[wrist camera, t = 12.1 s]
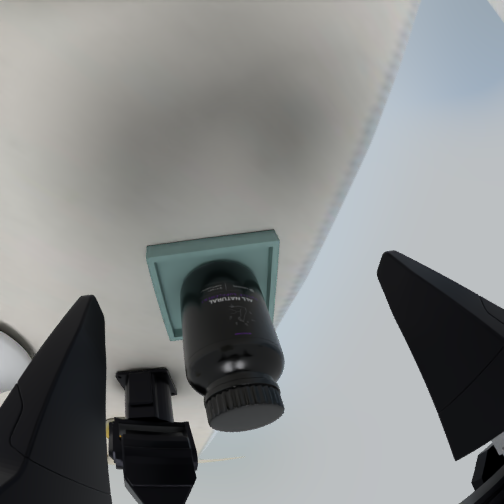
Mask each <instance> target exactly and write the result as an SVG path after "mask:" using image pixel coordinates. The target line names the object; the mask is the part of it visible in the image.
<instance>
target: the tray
mask: <svg viewBox="0 0 504 504" xmlns="http://www.w3.org/2000/svg"><path fill="white" fill-rule="evenodd" d="M279 243H280V240H279V238H278V236H277V234H276V233H275V231H274V230H268V231H260V232H251V233H243V234H235V235H227V236H220V237H212V238H204V239H197V240H189V241H182V242H174V243H167V244H160V245H152V246H147V252H146V260H147V264H148V268H149V272H150V276H151V279H152V283H153V286H154V290H155V294H156V297H157V300H158V304H159V307H160V310H161V314H162V317H163V320H164V323H165V327H166V330H167V333H168V336H169V339H170V341H176V340H183V337H182V324H181V309H180V291H181V287H182V284H183V282H184V281H185V279H186V278H187V277H188V276H189V275H190V274H191V273H192V272H193V271H194V270H196V269H197V268H199V267H201V266H203V265H206V264H209V263H213V262H221V261H225V262H233V263H237V264H240V265H242V266H244V267H246V268H247V269H249V270H250V271H251V272H252V273H253V274H254V275H255V277H256V279H257V281H258V283H259V286H260V288H261V291H262V294H263V297H264V300H265V303H266V306H267V309H268V311H269V314H270V317H271V320H272V323H273V316H274V305H275V293H276V282H277V269H278V257H279Z"/></svg>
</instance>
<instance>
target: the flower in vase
mask: <svg viewBox="0 0 504 504" xmlns="http://www.w3.org/2000/svg"><path fill="white" fill-rule="evenodd" d="M31 361H32V359H31V357H30V356H29V354H28V353H27V352H26V351H25V350H24V348H23V347H22V346H21V345H19V344H18V343H17V342H16V341H15V340H13V339H12V338H11V337H9V336H8V335H6V334H5V333H3V332H1V331H0V393H2V392H6V391H10V390H12V389H13V387H14V386H15V384H16V383H18V380H19V378H20V377H21V375H22V374H23V372H24V371H25V369H26V368H27V366H28V365H29V363H30V362H31Z"/></svg>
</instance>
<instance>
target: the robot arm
mask: <svg viewBox="0 0 504 504" xmlns="http://www.w3.org/2000/svg"><path fill="white" fill-rule="evenodd" d="M377 277H378V280H379V282H380V284H381V287H382V289H383V292H384V294H385V296H386V299H387V301H388V304H389V306H390V309H391V311H392V314H393V316H394V318H395V320H396V322H397V324H398V326H399V328H400V330H401V332H402V334H403V336H404V337H405V340H406V342H407V344H408V346H409V348H410V350H411V353H412V355H413V357H414V359H415V361H416V363H417V366H418V368H419V370H420V372H421V374H422V377H423V379H424V381H425V383H426V386H427V388H428V391H429V393H430V395H431V397H432V400H433V403H434V405H435V408H436V410H437V412H438V415H439V418H440V421H441V423H442V426H443V428H444V431H445V434H446V437H447V439H448V442H449V445H450V448H451V451H452V454H453V457H454V459H455V461H457V460H459V459H461V458H462V457H464V456H466V455H468V454H470V453H471V452H473V451H475V450H476V449H478V448H480V447H481V446H483V445H485V444H486V443H488V442H489V441H492V444H491V445H489V446H488V447H487V448H486V449H485V450H484V451H483V452H481V453H480V454H479V455H478V458H477V462H476V467H475V471H474V475H473V479H472V482H471V483H472V485H473V487H474V490H475V491H474V492H473V493H472V494H471V495H470V496H468V497H467V498H466V499H465V500H464V501H462V502H461V503H459V504H504V309H502V308H500V307H499V306H497V305H495V304H493V303H492V302H490V301H488V300H486V299H485V298H483V297H481V296H479V295H478V294H475V293H474V292H472V291H471V290H469V289H467V288H465V287H463V286H462V285H459V284H458V283H456V282H454V281H453V280H451V279H449V278H447V277H445V276H443V275H442V274H440V273H438V272H436V271H434V270H432V269H430V268H428V267H426V266H424V265H422V264H421V263H419V262H417V261H415V260H413V259H411V258H409V257H407V256H405V255H403V254H401V253H399V252H397V251H394V250H393V251H387V252H384V253H383V255H382V258H381V261H380V264H379V267H378V270H377ZM116 378H117V380H118V381H119V383H120V384H121V385H122V387H123V388H124V390H125V418H126V419H119V418H116V417H114V421H112V422H109V456H110V457H111V458H112V459H113V460H114V463H116V469H123V473H124V482H125V487H126V488H127V490H128V491H129V492H130V494H131V495H132V496H133V497H134V499H135V500H136V501H137V502H138V504H185V502H186V500H187V498H188V496H189V494H190V492H191V489H192V487H193V485H194V483H195V480H196V474H195V471H196V470H197V466H198V458H197V451H196V447H195V444H194V440H193V437H192V433H191V429H190V426H189V422H174V419H173V411H172V402H171V396H173V395H177V391H176V388H175V386H174V384H173V382H172V379H171V377H170V375H169V372H168V370H167V369H153V370H143V371H131V372H118V373H116ZM120 435H121V437H120ZM110 494H111V493H110V483H109V474H108V461H107V444H106V348H105V320H104V315H103V313H102V310H101V308H100V306H99V304H98V302H97V300H96V298H95V296H94V295H85V296H81V297H80V298H79V299H78V300H77V301H76V302H75V304H74V305H73V306H72V307H71V309H70V310H69V311H68V312H67V314H66V315H65V316H64V317H63V319H62V320H61V321H60V323H59V324H58V325H57V326H56V328H55V329H54V330H53V332H52V333H51V334H50V336H49V337H48V338H47V340H46V341H45V342H44V344H43V345H42V347H41V348H40V349H39V351H38V352H37V353H36V355H35V356H34V358H33V359H32V361H31V362H30V363H29V365H28V366H27V368H26V369H25V371H24V372H23V374H22V375H21V377H20V378H19V380H18V383H16V384H15V386H14V387H13V389H12V390H11V392H10V393H9V395H8V396H7V398H6V399H5V401H4V403H3V404H2V406H1V407H0V504H112V499H111V495H110Z"/></svg>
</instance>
